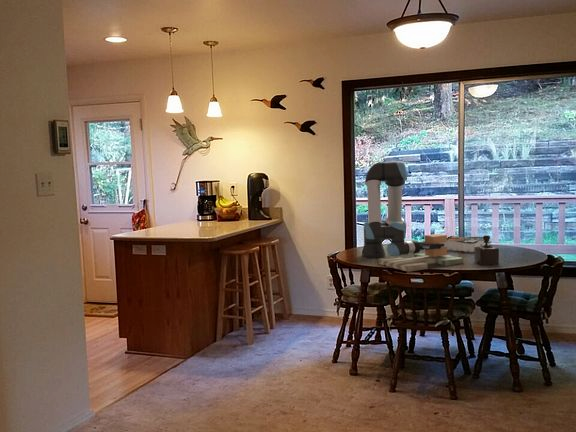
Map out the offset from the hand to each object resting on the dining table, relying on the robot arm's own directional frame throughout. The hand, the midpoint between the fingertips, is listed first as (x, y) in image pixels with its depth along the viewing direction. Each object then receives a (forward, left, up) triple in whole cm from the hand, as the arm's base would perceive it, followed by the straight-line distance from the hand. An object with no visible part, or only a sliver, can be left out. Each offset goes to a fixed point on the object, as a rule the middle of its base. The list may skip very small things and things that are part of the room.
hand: (442, 243), depth 334 cm
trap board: (-9, -13, -11) cm, 19 cm away
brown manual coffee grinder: (+27, -2, -11) cm, 29 cm away
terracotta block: (-3, -4, -7) cm, 8 cm away
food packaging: (+2, +44, -11) cm, 46 cm away
